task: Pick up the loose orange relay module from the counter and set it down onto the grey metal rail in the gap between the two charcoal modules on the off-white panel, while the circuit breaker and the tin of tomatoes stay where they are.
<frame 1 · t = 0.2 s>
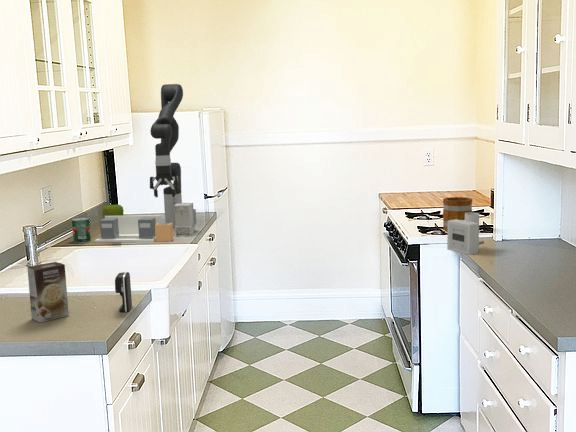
hand: (164, 197, 320), 17 cm above the countertop, tool pointing down, fingers open, 8 cm apart
rail: (127, 237, 304), point 1 cm above the countertop
coffee box: (50, 317, 193), on the countertop
circuit breaker: (186, 233, 317), on the countertop
panel: (128, 239, 307), on the countertop
canned tomato: (82, 242, 304), on the countertop
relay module: (164, 240, 301), on the countertop
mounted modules: (128, 227, 304), on the rail, point 6 cm above the countertop
battery charger: (124, 310, 199), on the countertop
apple: (114, 223, 351), on the countertop
thermostat: (470, 250, 263), on the countertop
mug: (456, 229, 306), on the countertop
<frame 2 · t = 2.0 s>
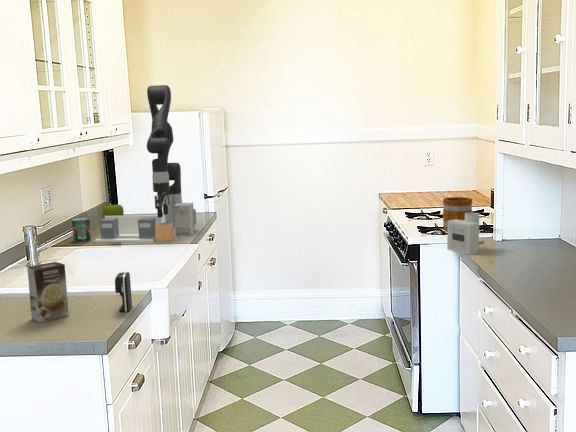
hand: (163, 215, 298), 12 cm above the countertop, tool pointing down, fingers open, 8 cm apart
nothing on the countertop moved.
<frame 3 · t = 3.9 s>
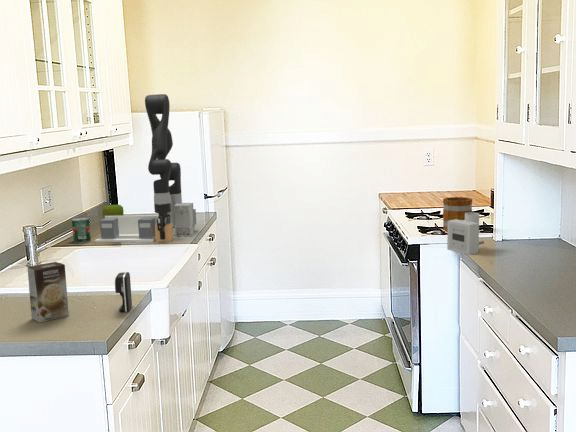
hand: (164, 237, 300), 1 cm above the countertop, tool pointing down, fingers closed on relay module, 5 cm apart
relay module: (164, 240, 301), on the countertop, touching gripper
everything else where it was.
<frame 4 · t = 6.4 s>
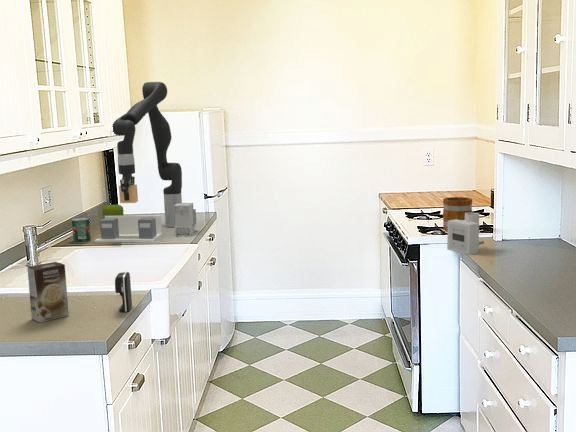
hand: (128, 199, 301), 19 cm above the countertop, tool pointing down, fingers closed on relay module, 5 cm apart
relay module: (129, 202, 301), point 18 cm above the countertop, touching gripper
everything else where it was.
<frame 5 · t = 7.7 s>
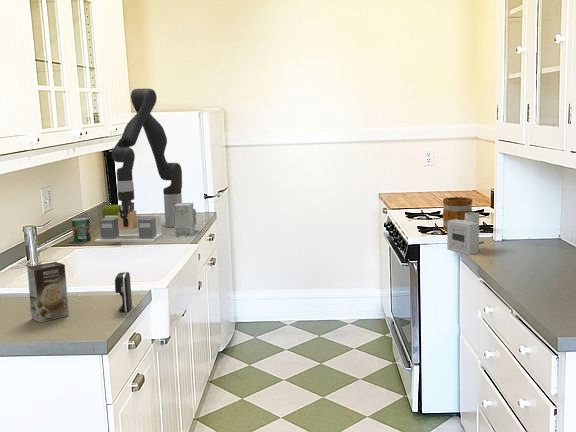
hand: (128, 225, 303), 7 cm above the countertop, tool pointing down, fingers closed on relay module, 5 cm apart
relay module: (128, 228, 304), point 6 cm above the countertop, touching gripper
everything else where it was.
when the fingers open (3 cm above the countertop, at t = 8.9 s): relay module stays where it is, resting on rail.
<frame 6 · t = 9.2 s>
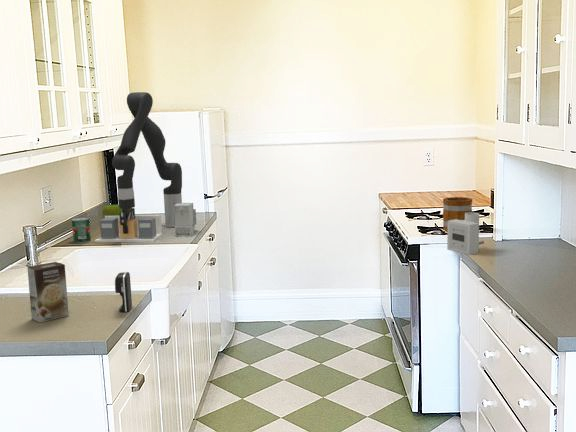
hand: (128, 231, 304), 4 cm above the countertop, tool pointing down, fingers open, 7 cm apart
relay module: (129, 236, 304), point 2 cm above the countertop, touching rail
everything else where it was.
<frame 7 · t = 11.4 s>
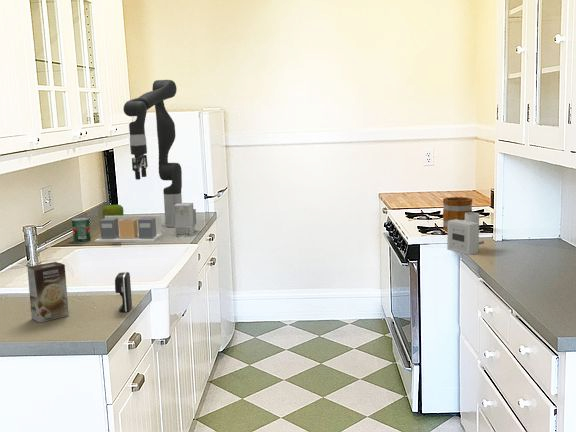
hand: (141, 178, 305), 29 cm above the countertop, tool pointing down, fingers open, 8 cm apart
nothing on the countertop moved.
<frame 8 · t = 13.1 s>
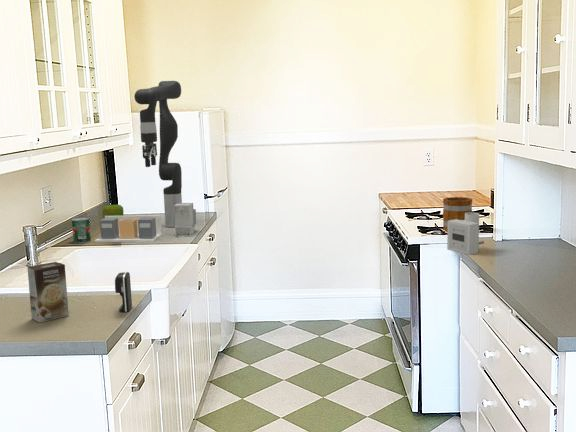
hand: (150, 166, 306), 34 cm above the countertop, tool pointing down, fingers open, 8 cm apart
nothing on the countertop moved.
at the end: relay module inside the target area (0.0 cm from its centre), point 1.6 cm above the countertop; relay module tilted 0°; the gripper is holding nothing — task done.
